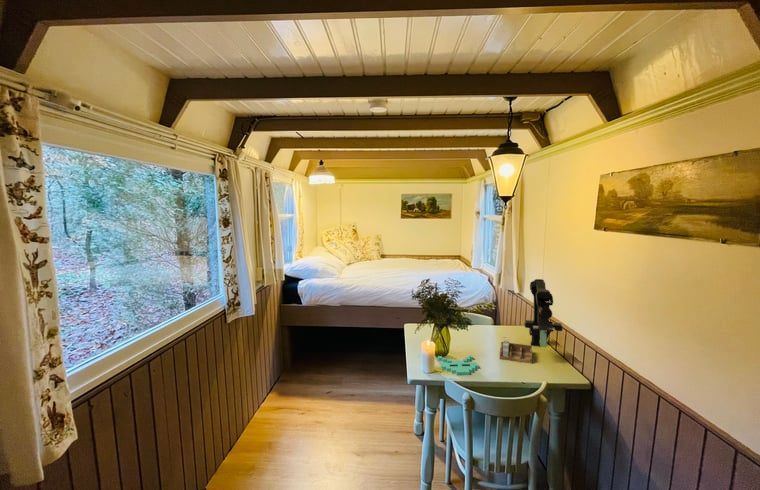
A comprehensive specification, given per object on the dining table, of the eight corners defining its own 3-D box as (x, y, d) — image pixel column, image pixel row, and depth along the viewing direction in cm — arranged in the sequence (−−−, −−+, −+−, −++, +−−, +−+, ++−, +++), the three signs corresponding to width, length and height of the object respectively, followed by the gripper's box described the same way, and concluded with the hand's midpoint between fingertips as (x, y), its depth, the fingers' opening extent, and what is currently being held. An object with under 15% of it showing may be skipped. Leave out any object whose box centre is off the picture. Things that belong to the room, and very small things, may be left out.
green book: (539, 340, 194) (539, 326, 193) (545, 340, 193) (545, 327, 192) (540, 346, 185) (540, 332, 184) (546, 347, 184) (546, 333, 183)
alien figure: (437, 359, 195) (444, 376, 176) (437, 356, 195) (444, 372, 175) (472, 359, 195) (482, 375, 175) (472, 355, 195) (482, 371, 175)
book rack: (501, 349, 206) (501, 337, 205) (531, 353, 199) (531, 340, 198) (499, 359, 193) (499, 345, 192) (531, 363, 186) (532, 349, 185)
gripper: (525, 315, 183) (525, 343, 185) (563, 319, 176) (563, 347, 178) (525, 310, 194) (524, 336, 195) (561, 313, 186) (560, 340, 188)
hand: (542, 340), depth 189 cm, fingers closed on green book, 3 cm apart
